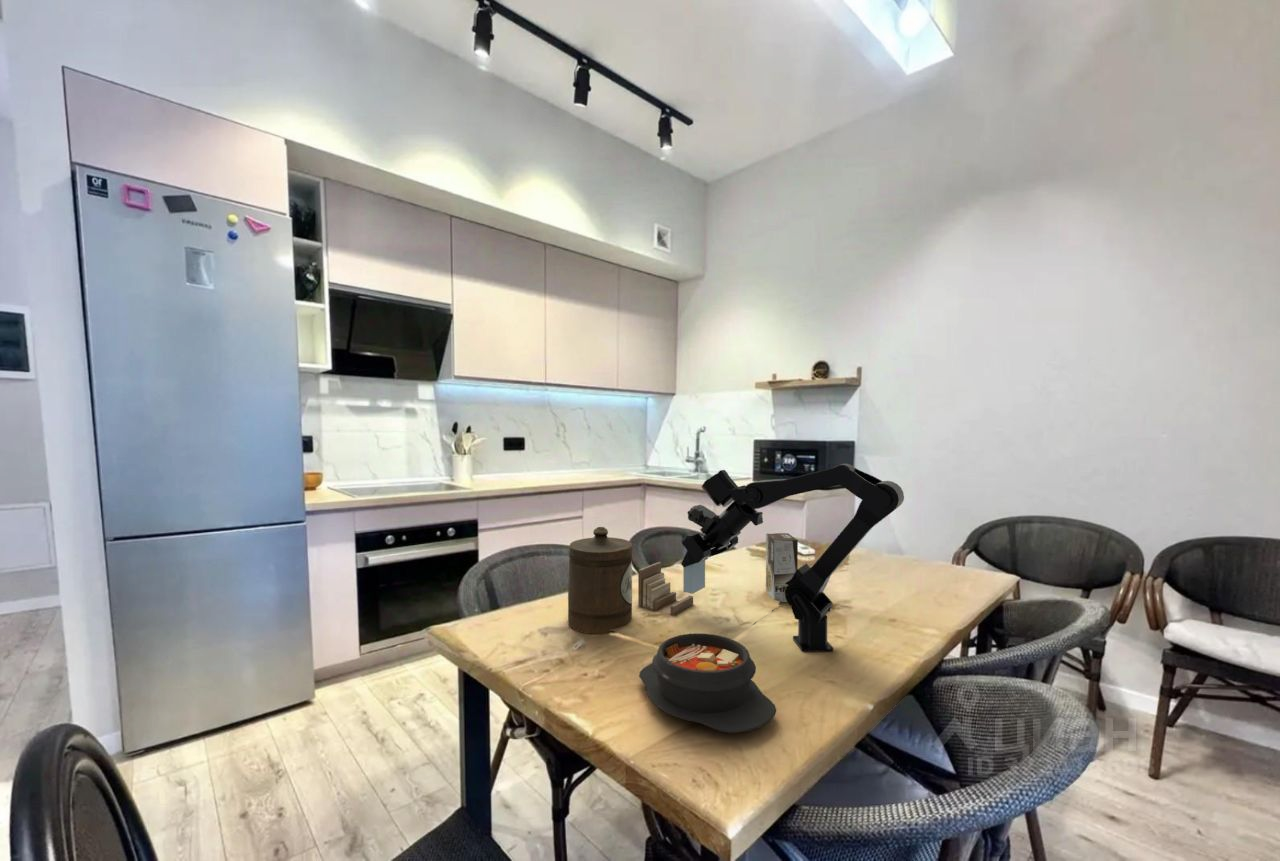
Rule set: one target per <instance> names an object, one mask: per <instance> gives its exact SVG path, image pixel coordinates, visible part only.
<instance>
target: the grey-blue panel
mask: <svg viewBox="0 0 1280 861" xmlns="http://www.w3.org/2000/svg"><path fill="white" fill-rule="evenodd" d="M682 546H683V552H682V553H683V554H682V555H683V557H682V558H683V559H684V557H685V555H686V553H687V549H686V548H685V547H684V545H683V544H682ZM683 559H682V560H683ZM682 568H683V577H682V578H683V582H682V583H683V589H682V590H683V592H684V593H687V594H692V595H693V594H695V593H697V592H699V591H701V590H703V589H705V588H706V560H704V561H702V562H699V563H696V564H692V565H689V566H687V567H683V566H682Z"/></svg>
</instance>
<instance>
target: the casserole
mask: <svg viewBox="0 0 1280 861" xmlns="http://www.w3.org/2000/svg"><path fill="white" fill-rule="evenodd" d="M756 671H757V667H756V664H755V662H754V660H753V659H752V658H751V656H750V653H749V651H748V649H747V648H746V647H745V646H744V645H743V644H741V643H740V642H738V641H736V640H735V639H732V638H730V637H726V636H723V635H718V634H713V633H700V632H698V633H697V632H696V633H686V634H679V635H675V636H672V637H669V638H668V639H666V640H664V641H663V642H662V643H661V644H660V645H659V647H658V649H657V651H656V654H655V655H654V656H653V659H652V660H651V663H649V664H648V665H646V666H645V667H643V668H642V669H641V670H640V672H639V675H638V677H639V678H640V680H641V681H642V683H643V684H644V686H645V688H646V692H647V695H648V698H649V699H650V701H651V702H652V703H653V704H654V705H655V706H656V707H657V708H658V709H660V711H663V712H664V713H666V714H668V715H670V716H672V717H675V718H677V719H680V720H684V721H689V722H693V723H697V724H701V725H704V726H706V727H709V728H711V729H714V730H715V731H718V732H722V733H727V734H737V733H739V734H740V733H746V732H749V731H753V730H756V729H759V728H762V727H763V726H765V725H766V724H768V723H769V722H771V720H773V718H774V717H775V716H776V714H777V707H776V704H775V703H773V701H772V700H771V699H770V698H769V697H768V696H766V695H764V693H763V692H762V691H761V690H760V687H758V685H757V684H756V682H755V681H754V680H752V679H753V678H754V677H755V674H756Z"/></svg>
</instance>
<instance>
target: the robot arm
mask: <svg viewBox="0 0 1280 861" xmlns="http://www.w3.org/2000/svg"><path fill="white" fill-rule="evenodd" d="M834 486H842V487H843V488H845V489H846V490H847V491H849V492H850V493H851V494H852V495H854V496H855V497H857V498H858V499H860V500H861V501H860V503H859V505H858V507H857V509H856V512H855V514H854V515H853V518H852V519H851V520H850V521H849V522H848V523H847V524H846V526H845V527H844V528H843V529H842V531H841V532H840V533H838V535H837V536H836V538H835V539H834V540H833V541H832V543H831V544H830V545H829V546H828V547H827V549H826V550H824V552H823V553H822V555H821V556H820V557H819V558H818V559H817V560H816V561H815V563H814V564H813V565H812V566H811V567H810V565H808V563H805V564H803V565H802V566H800V567H798V569H797V570H796V572H795V574H794V575H793V577H792V578H791V579H790V580H789V581H787V582H786V584H787V585H788V586H787V587H786V589H785V597H786V600H787V602H786V603H787V604H788V605H789V606H790V607H791V611H792V613H793V616H794V619H795V620H797V625H798V632H797V633H798V635H793V636H792V640H793V641H794V642H795V643H796V645H797V646H798V648H799V649H800V650H801V651H802V652H834V649H835V648H834V647H833V646H832V644H830V642H829V641H828V615H827V614H828V613H830V612H831V610H832V607H833V603H834V602H833V601H832V600H831V599H830V598H829V597H828V595H826V594H825V592H824V591H825V589H826V587H827V585H828V583H829V581H830V578H831V576H832V575H834V574H833V573H835V571H837V569H838V568H839V567H840V566H841V564H842V563H843V562H845V560H846V559H847V558H848V557H849V555H850V554H851V553H852V552H853V551H854V549H855V548H856V547H857V546H858V545H859V544H860V543H861V541H863V539H864V538H865V537H866V535H867V534H868V533H869V532H870V531H871V530H872V528H874V526H876V525H878V524H879V523H880V522H882V521H883V520H884V519H886V517H888V516H889V515H890V514H892V513H893V512H894V511H895V510H896V509H898V508H899V507H900V506H901V505H902V504H903V502H904V499H905V496H904V495H905V493H904V491H903V489H902V487H901V486H900V485H899V484H898V483H897V482H894V481H890V480H881V479H879V477H876V476H873V475H871V474H869V473H867V472H864V471H862V470H860V469H858V468H856V467H854V466H853V465H852V464H849V463H842V464H841V463H840V464H837V465H835V466H833V467H829V468H826V469H822V470H818V471H813V472H810V473H806V474H802V475H798V476H794V477H789V478H780V479H778V478H777V479H762V480H758V481H757V480H756V481H753V482H750V483H747V484H746V485H744V484H743V485H740V486H738V485H737V483H736V482H735V481H734V480H733V479H732V478H731V476H730V475H729V473H728V472H727V471H726V470H725V469H721V470H718V472H717V473H715V474H713V475H712V476H711V477H710V478H707V479H706V480H705V481H704V483H703V484H702V485H701V488H702V490H703V491H704V492H705V493H706V495H707V496H708V497H709V498H710V500H711V501H712V502H713V503H714V504H715V505H716V507H720V506H722V507H723V508H725V510H723V511H722V512H721V513H720V515H718V514H716V513H715V512H714V511H712V510H711V509H709V508H708V507H706V506H705V505H702V504H698V505H694V506H692V507H690V509H689V510H688V511H687V519H688V520H689V521H690V522H692V523H693V524H696V525H697V526H699V527H701V528H700V529H699V531H700V532H701V533H702V534H704V535H701V534H700V533H698V532H692V533H691V532H690V533H689V534H686V535H685V536H684V537H683V538H682V539H681V540H680V541H681V544H682V546H683V545H684V547H685V548H686V549H687V553H686V555H685V557H684V559H682V560H681V564H680V565H681V566H682V568H683V567H687V566H689V565H692V564H696V563H699V562H702V561H704V560H705V561H706V560H708V559H709V558H711V557H713V556H717V555H719V554H723V553H724V552H727V551H728V550H730V549H732V548H734V547H735V546H736V545H737V544H738V543H739V537H738V536H739V535H741V533H742V532H741V531H742V530H743V529H744V528H745V527H746V526H747V525H748V524H750V523H752V524H753V525H754V526H756V527H757V526H758V525H762V524H763V523H764V520H763V519H764V518H763V514H764V512H762V511H758V509H762V508H764V507H765V508H766V507H767V506H770V505H773V504H775V503H777V502H780V501H781V500H784V499H786V498H789V497H791V496H796V495H801V494H804V493H809V492H813V491H817V490H820V489H826V488H830V487H834ZM726 507H727V508H726Z"/></svg>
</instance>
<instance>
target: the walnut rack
mask: <svg viewBox="0 0 1280 861" xmlns="http://www.w3.org/2000/svg"><path fill="white" fill-rule="evenodd" d="M637 572H638V573H637V574H638V590H637V591H638V598H637V599H638V605H637V607H640V608H643V609H647V610H652V611H656V612H660V613H664V614H667V615H672V616H674V617H677V616H678V615H680V614H681V613H683V612H685V611H687V610H688V609H689V610H690V609H691V608H692V607H694V606H695V604H694V596H693V595H688V596H685V598H683V599H681V600H677V592H675V591H672V592H671V582H670V581H666V578H665V572H662V562H661V561H657V562H655V563H653V564H650V565H648V566H647V565H646V566H645V567H642V568H639V569H638V571H637Z"/></svg>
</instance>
